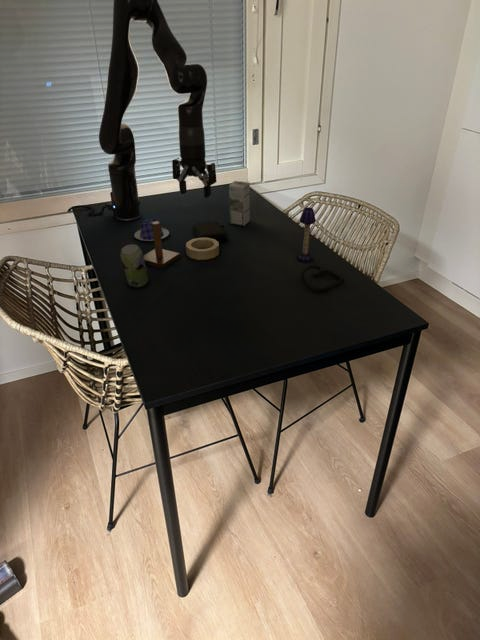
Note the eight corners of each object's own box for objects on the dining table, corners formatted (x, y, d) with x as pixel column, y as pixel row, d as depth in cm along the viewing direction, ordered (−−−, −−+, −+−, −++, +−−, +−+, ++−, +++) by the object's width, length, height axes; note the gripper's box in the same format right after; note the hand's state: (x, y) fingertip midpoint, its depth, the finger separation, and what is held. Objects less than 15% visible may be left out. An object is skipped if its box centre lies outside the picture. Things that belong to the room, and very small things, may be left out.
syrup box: (250, 220, 183) (250, 181, 175) (243, 226, 178) (243, 186, 170) (236, 218, 185) (235, 180, 177) (229, 224, 180) (228, 184, 172)
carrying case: (231, 241, 167) (221, 225, 179) (231, 233, 165) (220, 217, 177) (200, 245, 165) (192, 229, 177) (200, 237, 163) (191, 221, 175)
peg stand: (139, 262, 155) (134, 225, 148) (157, 251, 161) (153, 215, 154) (162, 269, 151) (158, 230, 144) (179, 257, 158) (176, 220, 151)
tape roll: (180, 255, 159) (179, 246, 157) (198, 243, 166) (197, 235, 165) (207, 262, 154) (207, 253, 153) (224, 249, 162) (224, 241, 160)
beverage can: (153, 280, 145) (148, 242, 138) (140, 292, 139) (135, 253, 132) (134, 277, 147) (128, 239, 140) (121, 289, 141) (114, 250, 134)
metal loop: (335, 258, 146) (351, 273, 138) (333, 275, 149) (348, 290, 140) (294, 261, 142) (307, 276, 134) (291, 278, 145) (305, 293, 137)
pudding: (163, 226, 179) (161, 212, 176) (174, 238, 170) (172, 224, 167) (130, 232, 175) (128, 218, 172) (140, 245, 165) (138, 230, 163)
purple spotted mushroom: (315, 260, 155) (319, 209, 146) (303, 264, 153) (307, 212, 144) (306, 254, 158) (309, 204, 149) (294, 258, 156) (297, 207, 147)
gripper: (219, 140, 145) (221, 194, 154) (178, 136, 150) (182, 188, 159) (206, 146, 139) (208, 202, 148) (164, 141, 145) (169, 195, 154)
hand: (195, 195), depth 154 cm, fingers open, 8 cm apart
